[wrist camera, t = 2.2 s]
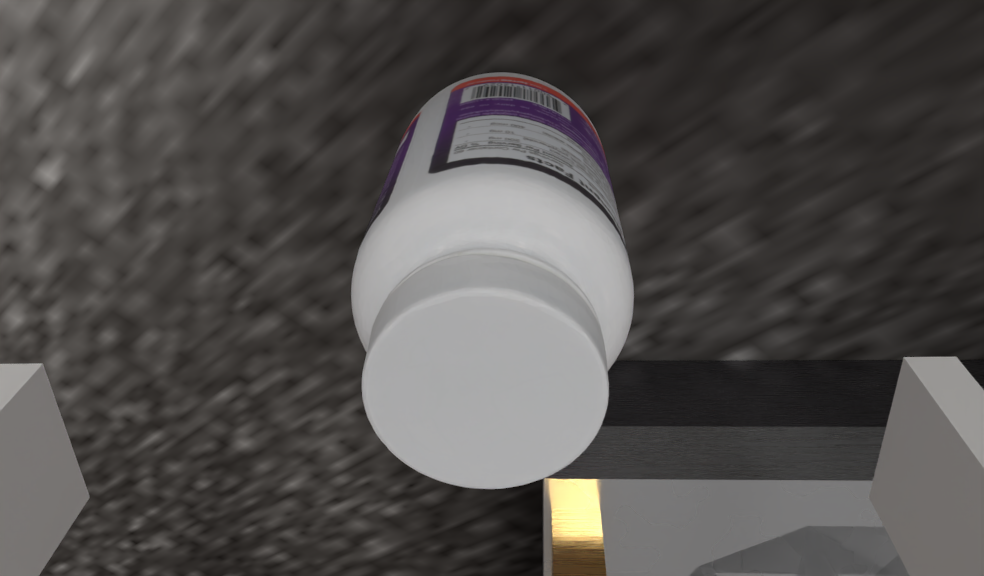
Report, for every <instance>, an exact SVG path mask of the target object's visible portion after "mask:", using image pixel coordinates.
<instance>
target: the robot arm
mask: <svg viewBox="0 0 984 576" xmlns="http://www.w3.org/2000/svg"><path fill="white" fill-rule="evenodd" d="M89 498H90V496H89V493H88V491H87V488H86V485H85V482H84V479H83V476H82V474H81V471H80V468H79V465H78V462H77V459H76V457H75V454H74V451H73V448H72V445H71V442H70V439H69V437H68V434H67V431H66V428H65V425H64V422H63V420H62V417H61V414H60V411H59V408H58V405H57V402H56V400H55V397H54V394H53V391H52V388H51V385H50V383H49V380H48V377H47V374H46V371H45V368H44V365H43V364H0V576H39V575H40V573H41V572H42V570H43V569H44V567H45V565H46V564H47V562H48V561H49V559H50V558H51V556H52V555H53V553H54V552H55V550H56V548H57V547H58V545H59V544H60V542H61V541H62V539H63V538H64V536H65V535H66V533H67V532H68V530H69V528H70V527H71V525H72V524H73V522H74V521H75V519H76V518H77V516H78V515H79V513H80V512H81V510H82V508H83V507H84V505H85V504H86V502H87V501H88V499H89ZM869 498H870V500H871V502H872V504H873V506H874V508H875V510H876V512H877V514H878V516H879V518H880V519H881V521H882V523H883V525H884V527H885V529H886V531H887V533H888V535H889V537H890V539H891V541H892V543H893V545H894V547H895V548H896V550H897V552H898V554H899V556H900V558H901V560H902V562H903V564H904V566H905V568H906V570H907V572H908V574H909V575H910V576H984V390H983V389H982V387H981V386H980V385H979V384H978V382H977V381H976V380H975V379H974V378H973V376H972V375H971V374H970V373H969V372H968V370H967V369H966V368H965V367H964V365H963V364H962V363H961V362H960V361H959V359H958V358H957V357H904V358H903V362H902V366H901V370H900V374H899V378H898V382H897V386H896V390H895V394H894V398H893V402H892V406H891V410H890V414H889V418H888V422H887V426H886V430H885V434H884V438H883V442H882V446H881V450H880V454H879V458H878V462H877V466H876V470H875V474H874V478H873V482H872V486H871V490H870V494H869Z"/></svg>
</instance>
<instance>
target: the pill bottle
mask: <svg viewBox="0 0 984 576" xmlns="http://www.w3.org/2000/svg"><path fill="white" fill-rule="evenodd" d="M351 301H352V312H353V318H354V322H355V326H356V329H357V332H358V335H359V338H360V340H361V342H362V344H363V346H364V349H365V351H366V352H367V354H366V358H365V362H364V367H363V372H362V398H363V403H364V407H365V411H366V414H367V417H368V419H369V421H370V423H371V425H372V427H373V429H374V431H375V433H376V434H377V436H378V437H379V438H380V440H381V441H382V442H383V443H384V444H385V445H386V446H387V448H388V449H389V450H390V451H391V452H392V453H393V454H394V455H395V456H396V457H397V458H399V459H400V460H401V461H402V462H404V463H405V464H406V465H408V466H410V467H411V468H413V469H414V470H416V471H418V472H419V473H422V474H424V475H426V476H428V477H431V478H433V479H436V480H438V481H442V482H445V483H448V484H452V485H457V486H461V487H466V488H476V489H502V488H509V487H516V486H521V485H525V484H528V483H531V482H534V481H537V480H540V479H543V478H546V477H548V476H550V475H552V474H554V473H556V472H558V471H559V470H561V469H563V468H564V467H566V466H567V465H569V464H570V463H572V462H573V461H574V460H575V459H576V458H578V457H579V456H580V455H581V454H582V453H583V452H584V450H585V449H586V448H587V447H588V446H589V444H590V443H591V442H592V440H593V439H594V438H595V436H596V435H597V433H598V431H599V429H600V427H601V425H602V422H603V419H604V417H605V414H606V410H607V406H608V399H609V380H608V370H609V369H610V368H611V366H612V365H613V363H614V362H615V360H616V359H617V357H618V355H619V354H620V352H621V350H622V348H623V345H624V343H625V341H626V339H627V336H628V332H629V329H630V325H631V321H632V316H633V304H634V288H633V279H632V274H631V268H630V261H629V257H628V253H627V249H626V245H625V240H624V236H623V232H622V228H621V224H620V219H619V215H618V211H617V207H616V202H615V197H614V193H613V188H612V184H611V180H610V175H609V171H608V166H607V161H606V157H605V153H604V150H603V147H602V144H601V141H600V139H599V136H598V134H597V131H596V129H595V128H594V126H593V124H592V122H591V121H590V119H589V118H588V116H587V115H586V114H585V112H584V111H583V110H582V109H581V108H580V106H579V105H578V104H577V103H576V102H575V101H573V100H572V99H571V98H570V97H569V96H567V95H566V94H565V93H564V92H562V91H561V90H559V89H557V88H556V87H554V86H552V85H550V84H548V83H546V82H544V81H542V80H539V79H537V78H533V77H530V76H526V75H522V74H517V73H507V72H496V73H486V74H480V75H476V76H472V77H469V78H466V79H463V80H460V81H458V82H455V83H453V84H451V85H450V86H448V87H446V88H444V89H443V90H441V91H440V92H438V93H437V94H436V95H435V96H433V97H432V98H431V99H430V100H429V101H428V102H427V103H426V104H425V105H424V106H423V107H422V108H421V110H420V111H419V112H418V113H417V115H416V116H415V117H414V119H413V120H412V122H411V123H410V125H409V127H408V128H407V130H406V132H405V134H404V135H403V137H402V140H401V142H400V145H399V147H398V150H397V153H396V155H395V158H394V161H393V163H392V166H391V169H390V171H389V174H388V177H387V179H386V182H385V184H384V187H383V189H382V192H381V194H380V197H379V199H378V202H377V204H376V207H375V210H374V212H373V215H372V217H371V220H370V222H369V225H368V227H367V230H366V232H365V235H364V237H363V240H362V242H361V245H360V248H359V251H358V254H357V258H356V262H355V266H354V270H353V276H352V286H351Z"/></svg>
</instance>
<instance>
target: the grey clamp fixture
mask: <svg viewBox="0 0 984 576" xmlns="http://www.w3.org/2000/svg"><path fill="white" fill-rule="evenodd" d="M959 361H960V362H961V363H962V364H963V365H964V367H965V368H966V369H967V370H968V372H969V373H970V374H971V375H972V376H973V378H974V379H975V380H976V381H977V382H978V384H979V385H980V386H981V387H982V389H983V390H984V360H959ZM902 362H903V360H884V361H615V362H614V363H613V365H612V366H611V368H610V369H609V370H608V380H609V399H608V406H607V410H606V414H605V417H604V419H603V422H602V425H601V427H600V429H599V431H598V433H597V435H596V436H595V438H594V439H593V440H592V442H591V443H590V444H589V446H588V447H587V448H586V449H585V450H584V452H583V453H582V454H581V455H580V456H579V457H578V458H576V459H575V460H574V461H573V462H572V463H570V464H569V465H567V466H566V467H564V468H563V469H561V470H559V471H558V472H556V473H554V474H552V475H550V476H548V477H546V478H543V479H542V576H910V575H909V574H908V572H907V570H906V568H905V566H904V564H903V562H902V560H901V558H900V556H899V554H898V552H897V550H896V548H895V547H894V545H893V543H892V541H891V539H890V537H889V535H888V533H887V531H886V529H885V527H884V525H883V523H882V521H881V519H880V518H879V516H878V514H877V512H876V510H875V508H874V506H873V504H872V502H871V500H870V498H869V494H870V490H871V486H872V482H873V478H874V474H875V470H876V466H877V462H878V458H879V454H880V450H881V446H882V442H883V438H884V434H885V430H886V426H887V422H888V418H889V414H890V410H891V406H892V402H893V398H894V394H895V390H896V386H897V382H898V378H899V374H900V370H901V366H902Z"/></svg>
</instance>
